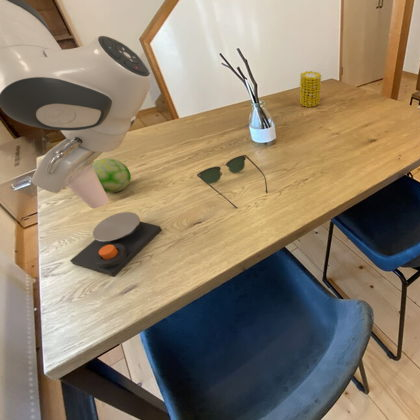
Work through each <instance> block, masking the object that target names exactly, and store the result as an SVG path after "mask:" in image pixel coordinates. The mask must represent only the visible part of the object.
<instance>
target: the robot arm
mask: <svg viewBox="0 0 420 420" xmlns="http://www.w3.org/2000/svg"><path fill="white" fill-rule="evenodd" d="M150 85H151V72H150V70H149V68H148V67H147V66H146V64H145V62H144V61H143V60H142V58H140V56H139V55H138V54H137V53H136V52H134V51H133V50H132V49H131V48H129V46H127V45H126V44H124V43H123V42H121V41H119V40H117V39H115V38H113V37H109V36H106V35H99V36H97V37H95V38H94V39H93V40H92V41H91V42H89V43H87V44H84V45H81V46H78V47H73V48H67V49H62V48H61V46H60V45H59V43H58V41H57V40H56V39H55V36H54V35H53V33H52V31H51V29H50V28H49V25H48V24H47V22H46V20H45V18H44V17H43V16H42V15H41V14H40V13H39V11H38V10H37V9H35V8H34V7H33V6H32V5H31V4H30V3H28V2H27V1H25V0H0V109H1V110H2V112H3V113H4V114H5V115H6V116H8V117H9V118H10V119H12V120H13V121H16V122H18V123H20V124H23V125H27V126H29V127H34V128H37V129H44V130H50V131H51V130H52V131H60V132H61V133H62V135H63V136H64V137H65V139H63V140H62V141H60V142H58V143H57V144H56V145H55V146H53V147H52V148H50V149H49V150H48V151H47V152H46V153H45V154H44V155H43V156H42V158H41V159H40V161H39V163H38V165H37V167H36V169H35V171H34V173H33V175H32V178H31V183H32V184H33V185H34V186H36V187H38V188H39V189H42V190H45V191H46V192H49V193H54V194H58V193H60V192H61V191H63V190H64V189H66V188H67V187H68V185H69V183H70V182H71V181H72V180H73V179H74V178H75V177H76V176H77V175H79V174H80V173H81V172H82V171H83V170H84V169H85V168H86V167H87V166H88V165H90V164H91V163H94V162H95V160H96V159H98V158H99V157H100V156H101V155H102V154H103V153H109V152H113V151H115V150H117V149H119V148H120V147H121V145H122V144H123V142H124V140H125V138H126V136H127V134H128V132H129V131H130V128H132V126H133V124H134V123H135V122H136V120H137V117H136V115H138V113H139V112H140V110H141V109H142V106H143V104H144V102H145V100H146V98H147V95H148V92H149V89H150Z"/></svg>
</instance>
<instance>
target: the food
mask: <svg viewBox="0 0 420 420" xmlns="http://www.w3.org/2000/svg"><path fill="white" fill-rule="evenodd" d="M299 77H300V78H299V79H300V80H299V86H300V87H299V88H300V89H299V102H300V105H301V106H303V107H305V108H312V107H315V106H318V105H320V103H321V102H320V101H321V92H322V91H321V88H322V83H321V82H322V75H321V73H320V72H319V71H318V72H316V71H313V70H309V71H308V70H307V71H305V72H301V73H300V75H299Z"/></svg>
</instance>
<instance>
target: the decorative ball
mask: <svg viewBox="0 0 420 420" xmlns="http://www.w3.org/2000/svg"><path fill="white" fill-rule="evenodd" d="M92 167H93V169H94V171H95V173H96V175H97V177H98V179H99V181H100V183H101V185H102V187H103V189H104V191H105V193H116V192H121V191H123V190H125V189H126V188H127V187H129V185H130V182H131V180H132V179H131V172H130V169H129V168H128V166H126V164H124V163H123V162H122V161H120V160H118V159H115V158H110V157H109V158H101V159H99V160H96V161H94V162H93V166H92Z"/></svg>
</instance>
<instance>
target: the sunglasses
mask: <svg viewBox="0 0 420 420" xmlns="http://www.w3.org/2000/svg"><path fill="white" fill-rule="evenodd" d="M246 159H247V160H248V161H249V162H250V163H251V164H252V165H253V166H254V167H255V168H256V169H257V170H258V171H259V172H260V173H261V175H262V176H263V177H264V183H265V193H266V194H268V186H267V184H268V183H267V178H266V176H265V174H264V172H263V171H262V170H261V168H259V166H257V165H256V163H254V161H253V160H252V159H251V158H250V157H249V156H248V155H246V154H242V155H239V156H235V157H233V158H232V159H229V160H228V161H227V162H226V163H224V164H221V165H220V166H212V167H208V168H206V169H203V170H202V171H200V172H198V173H197V174H196V177H198V178H199V179H200V180H201V181H203V182H204V183H205V184H206V185H207V186H209V187H210V188H211V189H212V190H214V191H215V192H216V193H218V194H219V195H220V196H221V197H223V198H224V199H225V200H226V201H228V203H229V204H231V206H233V207H234V208H235V209H238V207H237V205H235V204H234V203H233V202H232V201H230V200H229V199H228V198H227V197H226V196H225V195H223V194H222V193H221V192H219V190H218V189H216V188H215V187H214V186H212V185H213V184H215V183H217V182H219V181H220V180H221V178H222V177H223V173H222V172H221V170H222V167H225V166H226V167H227V168H228V171H229V172H230V173H233V174H238V173H240V172H242V171H243V170H244V169H245V165H246V161H247V160H246Z"/></svg>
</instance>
